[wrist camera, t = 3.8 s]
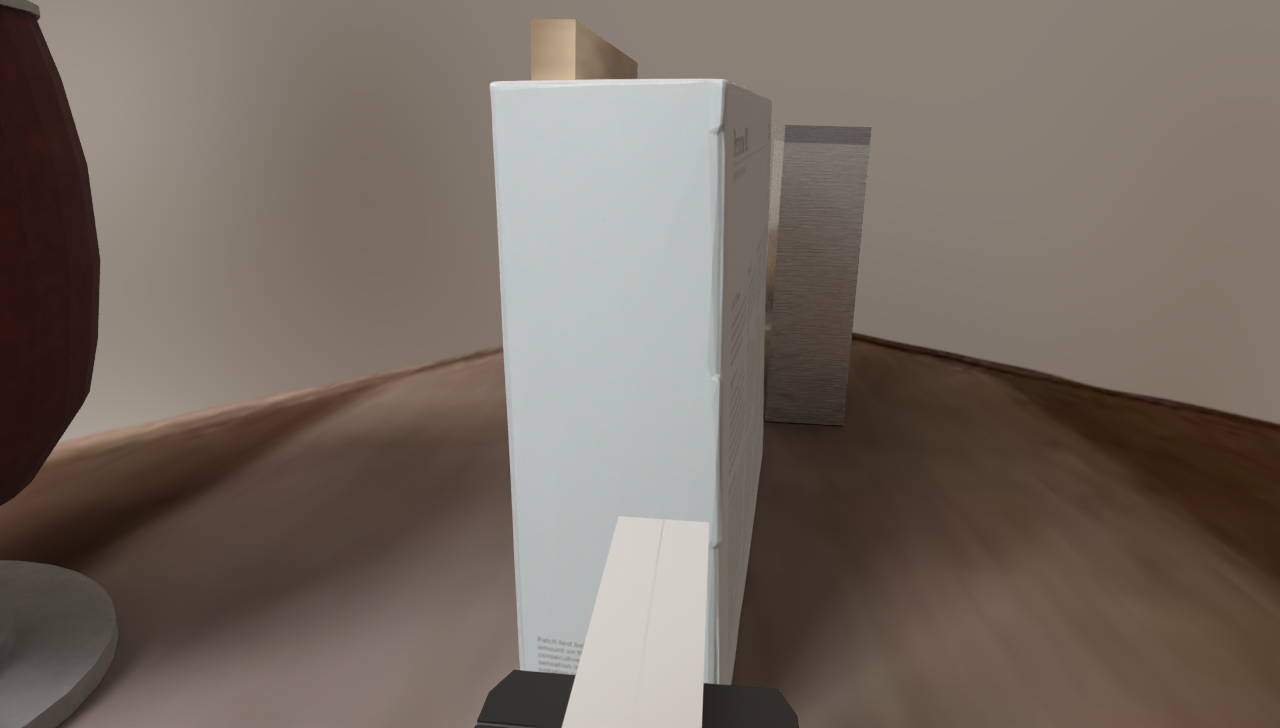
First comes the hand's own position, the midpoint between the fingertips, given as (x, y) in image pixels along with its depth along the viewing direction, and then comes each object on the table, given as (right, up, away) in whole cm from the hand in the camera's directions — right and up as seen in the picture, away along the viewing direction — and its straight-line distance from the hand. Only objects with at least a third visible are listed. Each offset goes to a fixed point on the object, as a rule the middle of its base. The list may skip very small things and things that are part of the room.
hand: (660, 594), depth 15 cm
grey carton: (+8, +2, +35) cm, 36 cm away
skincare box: (+1, -3, +16) cm, 17 cm away
